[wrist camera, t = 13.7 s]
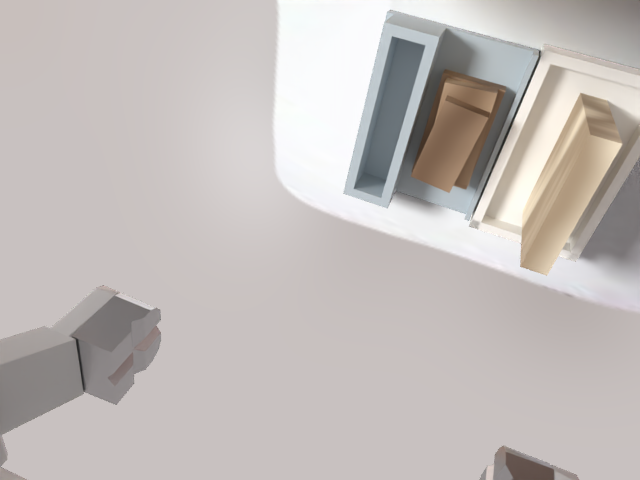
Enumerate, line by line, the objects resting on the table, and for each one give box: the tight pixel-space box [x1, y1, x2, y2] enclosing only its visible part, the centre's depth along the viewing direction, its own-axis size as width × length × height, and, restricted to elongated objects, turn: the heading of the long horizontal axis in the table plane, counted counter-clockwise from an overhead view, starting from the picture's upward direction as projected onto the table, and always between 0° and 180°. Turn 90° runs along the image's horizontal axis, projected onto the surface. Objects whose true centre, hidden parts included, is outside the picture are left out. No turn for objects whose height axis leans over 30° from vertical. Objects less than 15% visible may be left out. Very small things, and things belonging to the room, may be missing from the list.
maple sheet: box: [520, 93, 622, 275], centre depth 40 cm, size 2×11×9 cm, turn 169°
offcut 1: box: [411, 69, 506, 190], centre depth 44 cm, size 5×9×1 cm, turn 169°
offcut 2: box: [411, 95, 490, 193], centre depth 42 cm, size 4×7×1 cm, turn 163°
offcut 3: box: [434, 78, 498, 186], centre depth 42 cm, size 4×8×1 cm, turn 173°
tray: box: [469, 44, 640, 262], centre depth 43 cm, size 10×16×2 cm, turn 169°
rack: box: [343, 10, 539, 221], centre depth 44 cm, size 12×15×4 cm
